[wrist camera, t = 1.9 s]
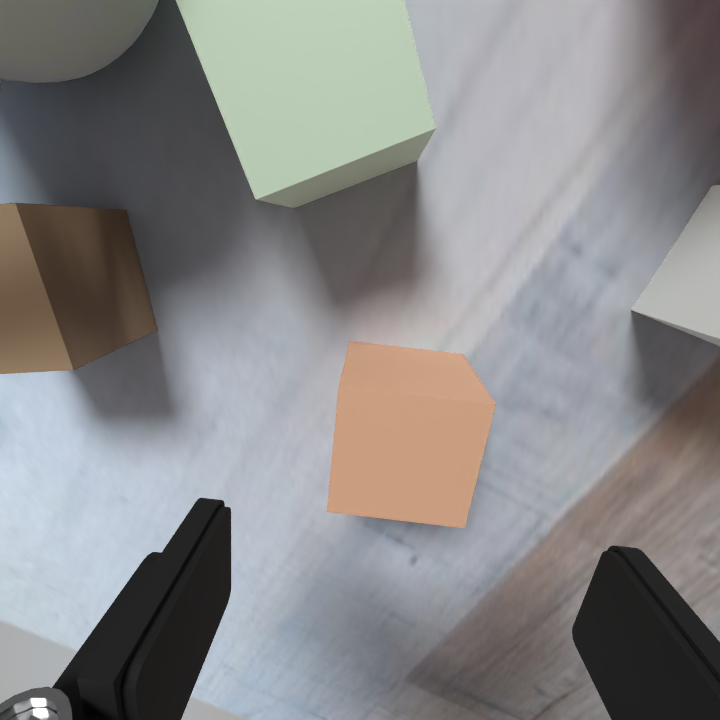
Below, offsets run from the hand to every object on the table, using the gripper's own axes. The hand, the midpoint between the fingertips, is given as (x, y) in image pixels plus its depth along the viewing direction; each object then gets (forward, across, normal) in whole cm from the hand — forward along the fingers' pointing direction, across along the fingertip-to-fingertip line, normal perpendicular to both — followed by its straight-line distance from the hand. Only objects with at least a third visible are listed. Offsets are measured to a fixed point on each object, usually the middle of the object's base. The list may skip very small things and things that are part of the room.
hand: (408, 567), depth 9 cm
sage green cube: (+8, +4, -12) cm, 15 cm away
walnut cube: (+9, +14, -5) cm, 17 cm away
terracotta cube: (+9, 0, -1) cm, 9 cm away
